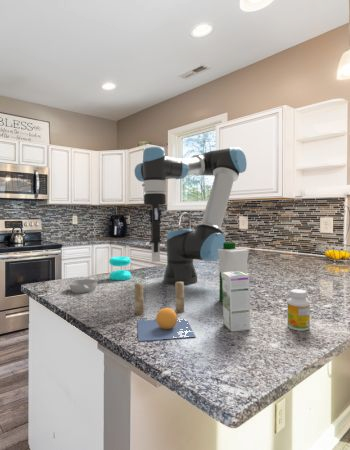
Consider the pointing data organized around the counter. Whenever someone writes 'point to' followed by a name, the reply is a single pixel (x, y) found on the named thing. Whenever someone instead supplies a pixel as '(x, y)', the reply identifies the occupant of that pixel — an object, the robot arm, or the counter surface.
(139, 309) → the left post
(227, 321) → the syrup box
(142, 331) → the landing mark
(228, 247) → the milk carton
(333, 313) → the counter surface
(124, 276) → the donuts
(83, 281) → the saucepan
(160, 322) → the ball
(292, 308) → the supplement bottle
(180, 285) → the right post
